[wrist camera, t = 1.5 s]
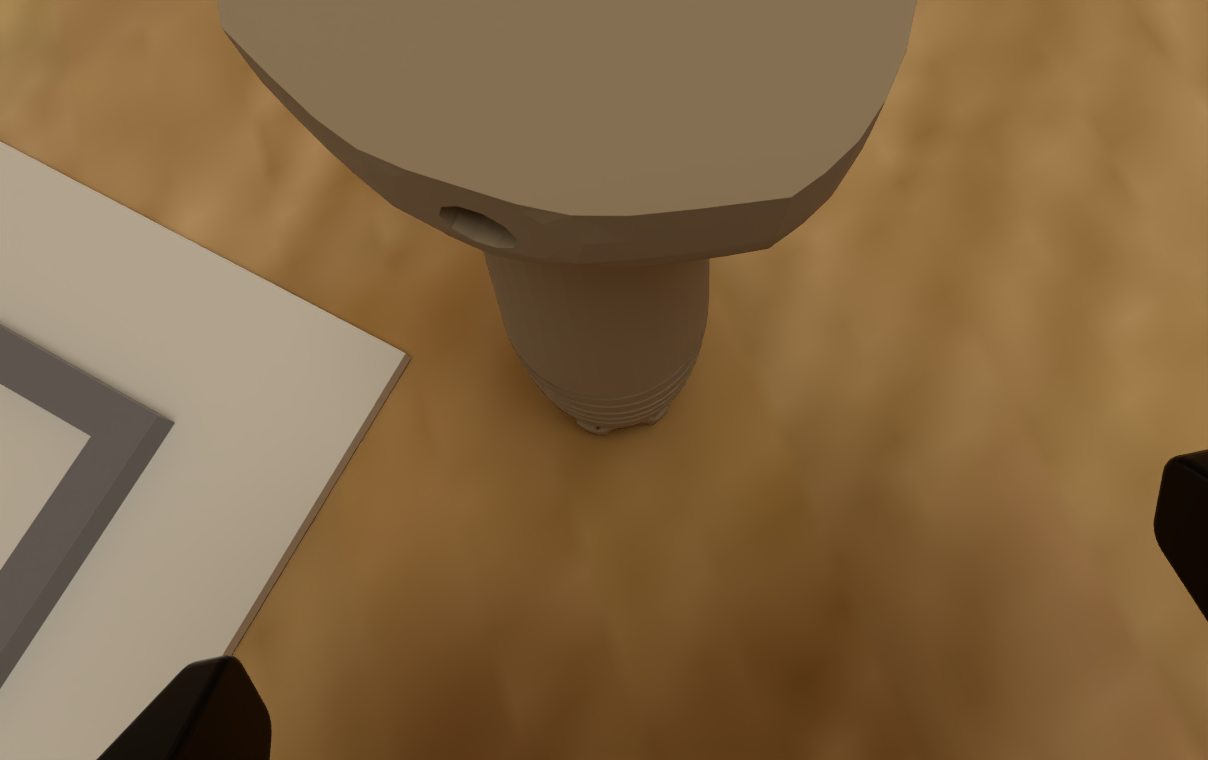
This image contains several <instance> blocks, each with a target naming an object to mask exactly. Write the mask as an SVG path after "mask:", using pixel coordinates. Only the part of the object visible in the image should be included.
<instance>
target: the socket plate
mask: <svg viewBox="0 0 1208 760" xmlns="http://www.w3.org/2000/svg"><path fill="white" fill-rule="evenodd" d="M410 359H411V358H410V357H409V356H408V355H407V354H406V353H404V352H402V351H401V350H399V349H397V348H395V347H393V346H391V345H389V344H387V343H385V342H383V341H381V340H379V339H378V338H376V337H374V336H372V335H370V334H368V333H366V332H364V331H362V330H360V329H358V328H357V327H355V326H353V325H351V324H349V323H347V322H345V321H343V320H341V319H339V318H337V317H335V316H334V315H332V314H330V313H328V312H326V311H324V310H322V309H320V308H318V307H316V306H314V305H312V304H311V303H309V302H307V301H305V300H303V299H301V298H299V297H297V296H295V295H293V294H291V293H289V292H288V291H286V290H284V289H282V288H280V287H278V286H276V285H274V284H272V283H270V282H268V281H267V280H265V279H263V278H261V277H259V276H257V275H255V274H253V273H251V272H249V271H247V270H245V269H244V268H242V267H240V266H238V265H236V264H234V263H232V262H230V261H228V260H226V259H224V258H222V257H221V256H219V255H217V254H215V253H213V252H211V251H209V250H207V249H205V248H203V247H201V246H200V245H198V244H196V243H194V242H192V241H190V240H188V239H186V238H184V237H182V236H180V235H178V234H177V233H175V232H173V231H171V230H169V229H167V228H165V227H163V226H161V225H159V224H157V223H155V222H154V221H152V220H150V219H148V218H146V217H144V216H142V215H140V214H138V213H136V212H134V211H132V210H131V209H129V208H127V207H125V206H123V205H121V204H119V203H117V202H115V201H113V200H111V199H110V198H108V197H106V196H104V195H102V194H100V193H98V192H96V191H94V190H92V189H90V188H88V187H87V186H85V185H83V184H81V183H79V182H77V181H75V180H73V179H71V178H69V177H67V176H65V175H64V174H62V173H60V172H58V171H56V170H54V169H52V168H50V167H48V166H46V165H44V164H43V163H41V162H39V161H37V160H35V159H33V158H31V157H29V156H27V155H25V154H23V153H21V152H20V151H18V150H16V149H14V148H12V147H10V146H8V145H6V144H4V143H2V142H0V760H96V759H97V758H98V757H99V756H100V755H101V754H102V753H103V752H104V751H105V750H106V749H107V748H108V747H109V746H110V745H111V744H112V743H113V742H114V740H115V739H116V738H117V737H118V736H119V735H120V734H121V733H122V732H123V731H124V730H125V729H126V728H127V727H128V726H129V725H130V724H131V723H132V722H133V721H134V719H135V718H136V717H137V716H138V715H139V714H140V713H141V712H142V711H143V710H144V709H145V708H146V707H147V706H148V705H149V704H150V703H151V702H152V701H153V699H154V698H155V697H156V696H157V695H158V694H159V693H160V692H161V691H162V690H163V689H164V688H165V687H166V686H167V685H168V684H169V683H170V682H171V681H172V679H173V678H174V677H175V676H176V675H177V674H178V673H179V672H180V671H181V670H182V669H183V668H184V667H186V666H187V665H188V664H190V663H193V662H195V661H200V660H205V659H209V658H214V657H219V656H224V655H230V656H231V655H232V653H233V652H234V650H235V648H236V647H237V645H238V643H239V642H240V640H241V639H242V637H243V635H244V634H245V632H246V630H247V629H248V627H249V625H250V624H251V622H252V620H253V619H254V617H255V615H256V614H257V612H258V610H259V609H260V607H261V605H262V604H263V602H264V600H265V599H266V597H267V596H268V594H269V592H270V591H271V589H272V587H273V586H274V584H275V582H276V581H277V579H278V577H279V576H280V574H281V572H282V571H283V569H284V567H285V566H286V564H287V562H288V561H289V559H290V557H291V556H292V554H293V553H294V551H295V549H296V548H297V546H298V544H299V543H300V541H301V539H302V538H303V536H304V534H305V533H306V531H307V529H308V528H309V526H310V524H311V523H312V521H313V519H314V518H315V516H316V515H317V513H318V511H319V510H320V508H321V506H322V505H323V503H324V501H325V500H326V498H327V496H328V495H329V493H330V491H331V490H332V488H333V486H334V485H335V483H336V481H337V480H338V478H339V476H340V475H341V473H342V472H343V470H344V468H345V467H346V465H347V463H348V462H349V460H350V458H351V457H352V455H353V453H354V452H355V450H356V448H357V447H358V445H359V443H360V442H361V440H362V438H363V437H364V435H365V433H366V432H367V430H368V429H369V427H370V425H371V424H372V422H373V420H374V419H375V417H376V415H377V414H378V412H379V410H380V409H381V407H382V405H383V404H384V402H385V400H386V399H387V397H388V395H389V394H390V392H391V390H392V389H393V387H394V386H395V384H396V382H397V381H398V379H399V377H400V376H401V374H402V372H403V371H404V369H405V367H406V366H407V364H408V362H409V361H410Z"/></svg>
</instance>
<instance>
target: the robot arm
mask: <svg viewBox="0 0 1208 760" xmlns="http://www.w3.org/2000/svg"><path fill="white" fill-rule="evenodd" d="M1154 533H1155V536H1156V540H1157V542H1158V545H1159V547H1160V548H1161V550H1162V552H1163V553H1164V555H1165V557H1166V558H1167V560H1168V561H1169V563H1170V564H1171V566H1172V567H1173V569H1174V570H1175V572H1176V573H1177V575H1178V577H1179V578H1180V580H1181V581H1182V583H1183V584H1184V586H1185V587H1186V589H1187V590H1188V592H1189V594H1190V595H1191V597H1192V598H1193V600H1194V601H1195V603H1196V604H1197V606H1198V607H1199V609H1200V610H1201V612H1202V614H1203V615H1204V617H1205V618H1206V620H1207V621H1208V450H1202V451H1198V452H1193V453H1188V454H1183V455H1178V456H1175V457H1173V458H1171V459H1170V460H1169V461H1168V462H1167V464H1166V465H1165V467H1164V470H1163V474H1162V480H1161V485H1160V490H1159V496H1158V501H1157V506H1156V512H1155V517H1154ZM271 734H272V731H271V721H270V716H269V713H268V710H267V708H266V706H265V704H264V702H263V700H262V699H261V697H260V695H259V693H258V692H257V690H256V688H255V686H254V684H253V683H252V681H251V679H250V677H249V676H248V674H247V672H246V670H245V668H244V667H243V665H242V664H241V662H240V661H239V660H238V659H237V658H236V657H234V656H230V655H224V656H219V657H214V658H209V659H205V660H200V661H195V662H193V663H190V664H188V665H187V666H186V667H184V668H183V669H182V670H181V671H180V672H179V673H178V674H177V675H176V676H175V677H174V678H173V679H172V681H171V682H170V683H169V684H168V685H167V686H166V687H165V688H164V689H163V690H162V691H161V692H160V693H159V694H158V695H157V696H156V697H155V698H154V699H153V701H152V702H151V703H150V704H149V705H148V706H147V707H146V708H145V709H144V710H143V711H142V712H141V713H140V714H139V715H138V716H137V717H136V718H135V719H134V721H133V722H132V723H131V724H130V725H129V726H128V727H127V728H126V729H125V730H124V731H123V732H122V733H121V734H120V735H119V736H118V737H117V738H116V739H115V740H114V742H113V743H112V744H111V745H110V746H109V747H108V748H107V749H106V750H105V751H104V752H103V753H102V754H101V755H100V756H99V757H98V758H97V759H96V760H270V748H271Z"/></svg>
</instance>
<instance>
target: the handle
mask: <svg viewBox="0 0 1208 760" xmlns="http://www.w3.org/2000/svg"><path fill="white" fill-rule="evenodd" d="M217 2H218V9H219V15H220V21H221V27H222V29H223V30H224V32H225V33H226V34H227V36H228V37H229V38H230V40H231V41H232V43H233V44H234V45H235V47H236V48H237V49H238V51H239V52H240V53H241V55H242V56H243V58H244V59H245V60H246V62H247V63H248V64H249V66H250V67H251V68H252V69H253V71H254V72H255V73H256V75H257V76H258V77H259V79H260V80H261V81H262V83H263V84H264V85H265V86H266V87H267V88H268V89H269V90H270V91H271V92H272V93H273V94H274V95H275V96H276V97H277V98H278V99H279V100H280V101H281V103H282V104H283V105H284V106H285V107H286V108H287V109H288V110H289V111H290V112H291V113H292V114H293V115H294V116H295V117H296V118H297V119H298V120H299V121H300V122H301V123H302V124H303V125H304V126H305V127H306V128H307V129H308V130H309V131H310V132H311V133H312V134H313V135H314V136H315V137H316V138H317V139H318V140H319V141H320V142H321V143H322V144H323V145H324V146H325V147H326V148H327V149H328V150H329V151H330V152H331V153H332V154H333V155H335V156H336V157H337V158H338V159H339V160H340V161H341V162H342V163H344V164H345V165H346V166H347V167H348V168H349V169H350V170H351V171H352V172H353V173H354V174H356V175H357V176H358V177H359V178H360V179H361V180H363V181H364V182H365V183H366V184H367V185H369V186H370V187H371V188H372V189H374V190H375V191H376V192H377V193H378V194H380V195H381V196H382V197H383V198H384V199H386V200H387V201H388V202H389V203H390V204H392V205H393V206H394V207H396V208H398V209H400V210H402V211H404V212H406V213H408V214H410V215H412V216H414V217H416V218H417V219H419V220H421V221H423V222H425V223H427V224H429V225H431V226H433V227H435V228H437V229H439V230H440V231H442V232H444V233H445V234H447V235H449V236H451V237H453V238H455V239H458V240H460V241H462V242H464V243H467V244H469V245H471V246H473V247H476V248H478V249H480V250H483V253H484V256H485V259H486V262H487V266H488V269H489V273H490V276H491V280H492V283H493V287H494V290H495V294H496V297H497V301H498V304H499V307H500V311H501V314H502V318H503V321H504V325H505V328H506V330H507V333H508V336H509V338H510V341H511V342H512V345H513V347H514V349H515V351H516V352H517V355H518V356H519V358H520V360H521V362H522V363H523V365H524V367H525V368H526V370H527V372H528V374H529V375H530V376H531V378H532V379H533V380H534V381H535V383H536V384H537V385H538V386H539V388H540V389H541V390H542V391H543V392H544V394H545V395H546V396H547V397H548V398H549V399H550V400H551V401H552V402H553V403H554V404H556V405H557V406H558V407H559V408H560V409H561V410H562V411H564V412H565V413H567V414H569V415H570V416H572V417H573V418H575V419H576V422H577V424H578V425H579V426H580V427H582V428H583V429H584V430H586V431H588V432H590V433H593V434H598V435H607V434H609V433H610V432H611V431H612V430H614V429H616V428H624V427H628V426H632V425H636V424H638V423H645V424H649V425H653V424H655V423H656V422H657V421H659V420H660V419H661V418H662V417H663V416H664V415H665V414H666V413H667V411H668V409H669V403H670V402H671V401H672V400H673V399H674V398H675V396H676V395H677V394H678V393H679V391H680V390H681V388H682V387H683V385H684V384H685V382H686V381H687V379H688V377H689V375H690V373H691V371H692V368H693V366H694V364H695V362H696V359H697V357H698V355H699V352H700V348H701V344H702V340H703V336H704V332H705V327H706V321H707V315H708V303H709V258H716V257H723V256H729V255H735V254H740V253H746V252H752V251H757V250H763V249H768V248H770V247H771V246H773V245H774V244H775V243H777V242H778V241H780V240H781V239H782V238H784V237H785V236H787V235H788V234H789V233H791V232H792V231H793V230H795V229H796V228H798V227H799V226H800V225H802V224H803V223H804V222H805V221H806V220H807V219H808V218H809V217H810V216H811V215H812V214H813V213H814V212H815V211H816V210H818V209H819V208H820V207H821V206H822V205H823V204H824V203H825V202H826V201H827V200H828V199H829V198H830V197H831V196H832V194H833V193H834V191H835V190H836V189H837V187H838V186H839V184H840V182H841V181H842V179H843V178H844V176H845V175H846V173H847V172H848V170H849V169H850V167H851V166H852V164H853V163H854V161H855V159H856V158H857V156H858V155H859V153H860V152H861V150H862V148H863V146H864V144H865V142H866V140H867V138H868V136H869V134H870V132H871V130H872V128H873V126H874V124H875V122H876V120H877V118H878V116H879V114H880V111H881V109H882V107H883V105H884V103H885V101H886V99H887V96H888V94H889V91H890V89H891V87H892V84H893V82H894V79H895V77H896V75H897V72H898V70H899V67H900V65H901V63H902V60H903V58H904V55H905V53H906V50H907V45H908V40H909V36H910V31H911V26H912V22H913V17H914V12H915V8H916V3H917V0H217Z"/></svg>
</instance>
